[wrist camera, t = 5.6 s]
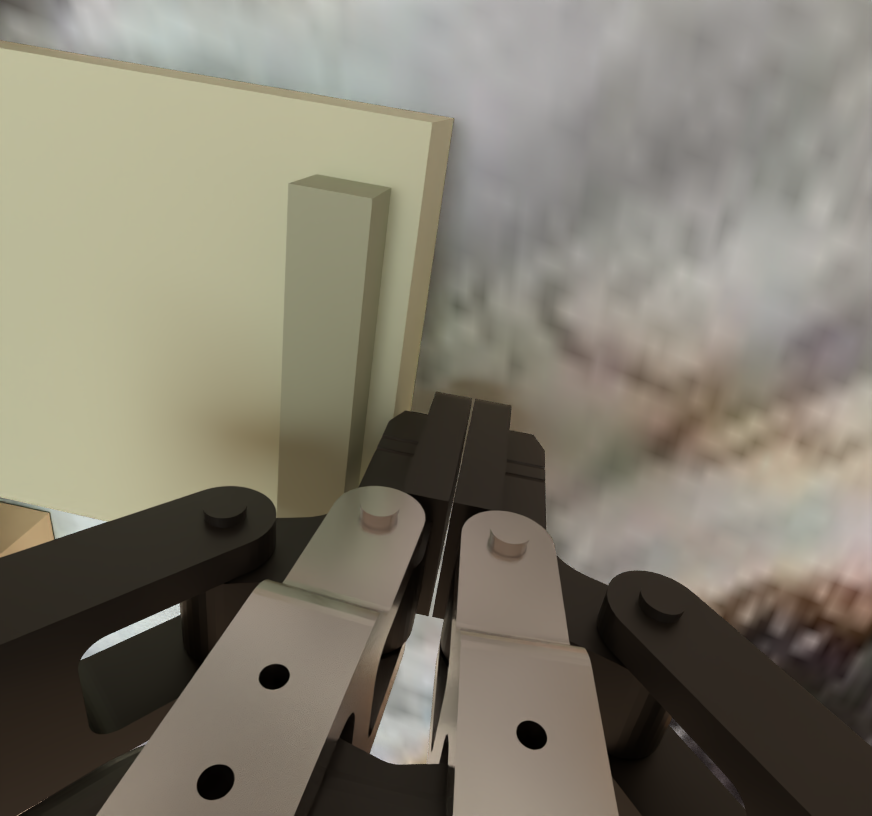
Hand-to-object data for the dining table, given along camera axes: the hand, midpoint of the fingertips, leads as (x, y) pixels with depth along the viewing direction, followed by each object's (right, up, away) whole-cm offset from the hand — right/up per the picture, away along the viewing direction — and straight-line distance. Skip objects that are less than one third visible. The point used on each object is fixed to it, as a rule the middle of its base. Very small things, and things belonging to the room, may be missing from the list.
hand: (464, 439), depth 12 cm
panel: (-6, +3, +2) cm, 7 cm away
